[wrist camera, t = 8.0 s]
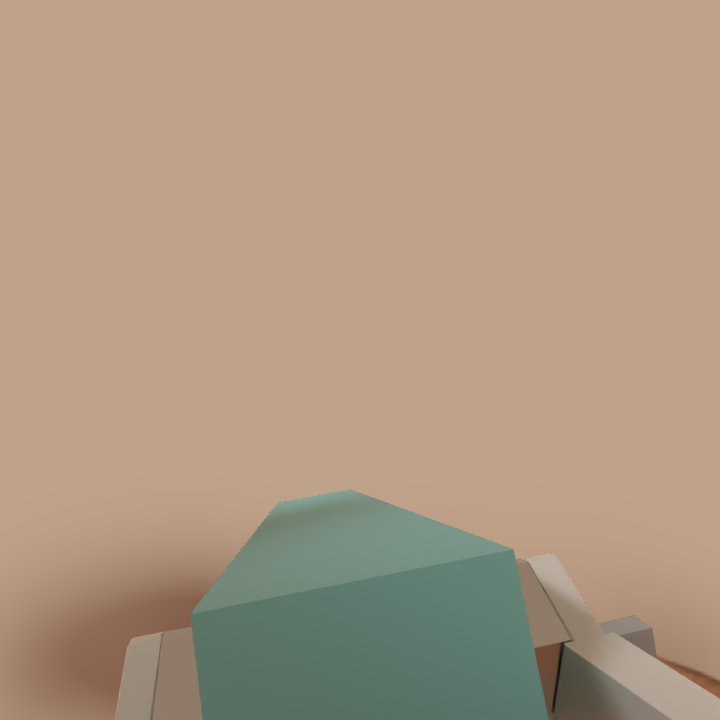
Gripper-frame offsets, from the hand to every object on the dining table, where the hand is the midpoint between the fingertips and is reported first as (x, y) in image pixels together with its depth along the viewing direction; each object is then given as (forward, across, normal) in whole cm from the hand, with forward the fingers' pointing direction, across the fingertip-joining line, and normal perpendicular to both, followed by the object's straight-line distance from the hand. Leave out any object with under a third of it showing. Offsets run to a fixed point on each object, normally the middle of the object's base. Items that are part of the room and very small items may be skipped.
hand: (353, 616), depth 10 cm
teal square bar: (+6, 0, -9) cm, 10 cm away
